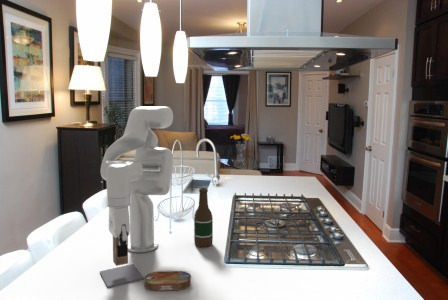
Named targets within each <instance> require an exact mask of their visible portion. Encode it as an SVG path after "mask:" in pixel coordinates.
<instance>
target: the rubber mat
mask: <svg viewBox="0 0 448 300" xmlns="http://www.w3.org/2000/svg"><path fill="white" fill-rule="evenodd" d="M99 275H100V276H101V278H102V280H103V282H104V283H105V285H106V288H107V289H110V288H114V287H118V286H122V285H126V284H127V285H128V284H130V283H134V282H140V281H143V280H145V279H144V278H145V276H144V275H143V274H142V273H141V271H140V270H139V268H137V266H136V265H135V264H134V263H132V264H125V265H121V266H116V267H114V268H108V269H105V270H104V269H103V270H100V271H99Z"/></svg>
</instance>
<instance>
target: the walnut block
mask: <svg viewBox="0 0 448 300" xmlns="http://www.w3.org/2000/svg"><path fill="white" fill-rule="evenodd" d="M126 232H127V231H126ZM120 236H122V234H120ZM128 238H129V235H128V236H127V256H123V257H118V256H117V245H118V237H117V238H115V237H114V236H113V235H112V260H113V263H114V265H115V266H116V267H119V266H124V265H129V250H128V243H129V239H128ZM121 239H122V238H120V240H121Z"/></svg>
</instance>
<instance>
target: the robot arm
mask: <svg viewBox="0 0 448 300" xmlns="http://www.w3.org/2000/svg"><path fill="white" fill-rule="evenodd" d="M173 121H174V113H173V110H172V108H171V107H170V106H138V107H135V108H133V109H132V110H131V111H130V112H129V115H128V119H127V121H126V122H127V123H126V126H125V129H124V133H123V135H122V136H121V137H119V138H118V139H117V140H115V141H114V142H113V143H112V144H111V145H110V146H109V147H108V148H107V149H106V150H105V153H104V156H103V157H102V161H101V165H100V176H101V178H102V180H104V181H106V202H107V203H106V204H107V207H108V231H109V233H110V234H111V235H112V237H113V236H114V237H115V238H117V237H118V245H117V256H118V257H123V256H127V236H128V237H129V236H130V237H129V238H130V241H128V252H132V253H136V254H138V253H139V254H141V253H142V254H143V253H148V252H151V251H154V250H156V249H158V247H159V242H158V241H157V240H155V222H154V219H155V218H154V217H155V215H154V203H153V201H152V199H151V198H150V196H165V195H167V194H169V192H170V189H171V185H172V184H171V183H172V177H173V176H172V175H173V168H174V154H173V151H172V150H171V149H170V148H168V147H158V142H159V139H158V136H157V134H156V133H155V132H154V131H153V130H152V129H166V128H169V127H170V126H172V124H173ZM133 151H135V154H134V158H133V159H134V160H131V159H130V160H129V159H118V158H120V157H121V156H123V155H125V154H128V153H130V152H133ZM126 231H127V232H126ZM120 234H122V236H120ZM120 238H122V239H121V240H120Z"/></svg>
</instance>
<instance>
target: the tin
mask: <svg viewBox="0 0 448 300" xmlns="http://www.w3.org/2000/svg"><path fill="white" fill-rule="evenodd" d="M191 279H192V275H191V273H189V272H187V271H184V270H183V271H182V270H175V271H174V270H167V271H166V270H165V271H164V270H161V271H160V270H159V271H158V270H157V271H153V272H149V273H147V275H145V276H144V279H143V280H144V285H145V288H146V289H147V290H149V291H155V292H156V291H157V292H158V291H182V290H185V289H187V288H188V287H190V286H191V282H192V281H191Z"/></svg>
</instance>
